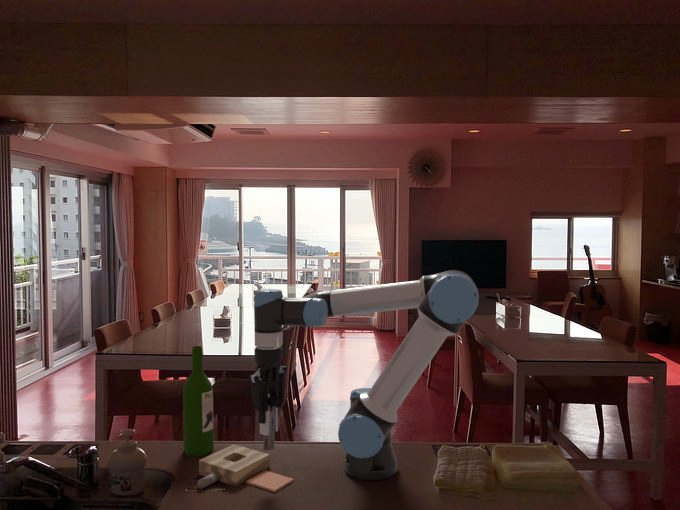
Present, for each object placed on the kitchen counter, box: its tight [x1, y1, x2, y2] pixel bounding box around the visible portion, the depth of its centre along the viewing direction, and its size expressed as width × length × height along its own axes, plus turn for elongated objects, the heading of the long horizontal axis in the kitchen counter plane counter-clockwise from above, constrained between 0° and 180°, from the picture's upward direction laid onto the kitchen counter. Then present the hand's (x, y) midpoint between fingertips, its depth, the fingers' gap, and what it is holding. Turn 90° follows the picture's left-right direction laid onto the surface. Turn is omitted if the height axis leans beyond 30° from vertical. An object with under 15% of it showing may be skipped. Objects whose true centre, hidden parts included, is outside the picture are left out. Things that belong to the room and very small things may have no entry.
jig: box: [197, 444, 271, 490], centre depth 160 cm, size 14×20×4 cm
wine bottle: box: [182, 345, 214, 457], centre depth 177 cm, size 9×9×32 cm
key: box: [262, 393, 284, 451], centre depth 155 cm, size 3×8×14 cm, turn 57°
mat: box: [245, 470, 294, 493], centre depth 156 cm, size 10×8×1 cm
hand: (269, 432), depth 155 cm, fingers closed on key, 3 cm apart
